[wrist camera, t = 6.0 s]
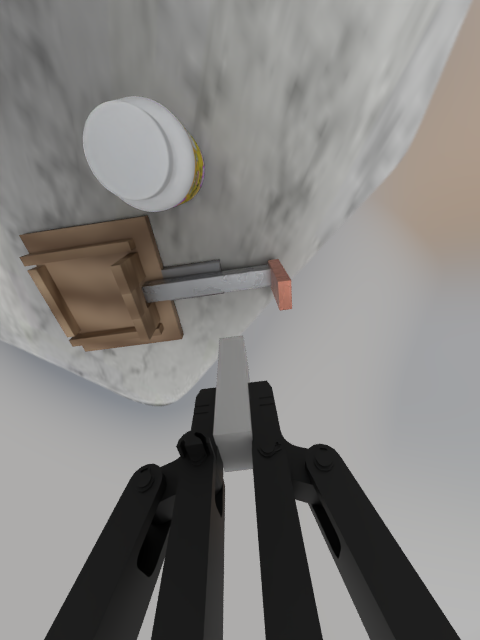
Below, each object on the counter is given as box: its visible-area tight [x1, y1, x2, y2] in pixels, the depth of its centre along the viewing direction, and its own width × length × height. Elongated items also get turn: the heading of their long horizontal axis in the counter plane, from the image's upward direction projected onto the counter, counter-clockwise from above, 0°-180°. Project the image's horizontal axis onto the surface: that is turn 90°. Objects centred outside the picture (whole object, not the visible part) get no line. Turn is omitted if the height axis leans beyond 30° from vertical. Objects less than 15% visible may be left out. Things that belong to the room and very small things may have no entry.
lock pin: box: [141, 259, 292, 310], centre depth 26 cm, size 3×16×7 cm, turn 98°
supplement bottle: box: [83, 96, 205, 212], centre depth 19 cm, size 7×7×13 cm
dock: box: [19, 215, 224, 352], centre depth 28 cm, size 16×21×6 cm
